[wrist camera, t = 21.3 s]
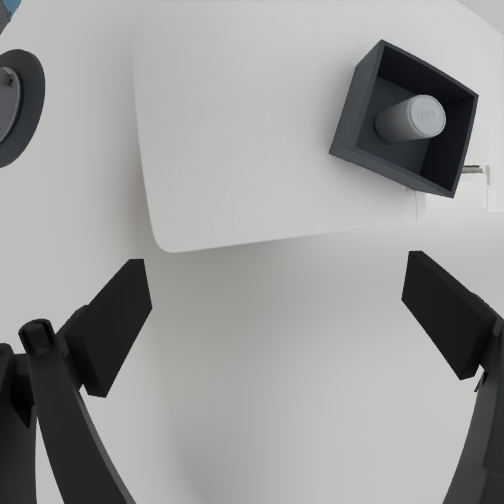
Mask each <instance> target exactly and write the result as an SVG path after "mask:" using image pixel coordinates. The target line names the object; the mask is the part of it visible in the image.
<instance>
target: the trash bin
mask: <svg viewBox="0 0 504 504" xmlns="http://www.w3.org/2000/svg"><path fill="white" fill-rule="evenodd" d="M418 95H428V96H431V97H433V98H435V99H436V100H437V101H438V102H439V103H440V104H441V106H442V107H443V110H444V112H445V117H446V123H445V127H444V129H443V130H442V132H440V133H439V134H438V135H436V136H434V137H431V138H423V139H416V140H409V141H402V142H396V143H390V142H387V141H384V140H383V139H382V138H381V137H380V136H379V135H378V133H377V131H376V128H375V120H376V117H377V115H378V114H379V113H380V112H381V111H383V110H385V109H387V108H390V107H392V106H394V105H396V104H399V103H401V102H403V101H405V100H408V99H410V98H412V97H415V96H418ZM478 97H479V95H478V94H476V93H475V92H473V91H472V90H470V89H469V88H467V87H466V86H464V85H463V84H461V83H460V82H458V81H457V80H455V79H454V78H452V77H450V76H449V75H447V74H446V73H444V72H442V71H441V70H439V69H437V68H436V67H434V66H432V65H430V64H429V63H427V62H425V61H423V60H421V59H420V58H418V57H416V56H414V55H412V54H410V53H408V52H406V51H404V50H402V49H400V48H398V47H396V46H394V45H392V44H390V43H388V42H386V41H384V40H382V39H381V40H380V41H379V42H378V43H377V44H376V45H375V46H374V47H373V49H372V50H371V51H370V52H369V53H368V54H367V55H366V56H365V57H364V58H363V59H362V60H361V61H360V62H359V63H358V65H357V66H356V69H355V72H354V75H353V79H352V82H351V85H350V89H349V92H348V95H347V98H346V101H345V105H344V108H343V111H342V114H341V117H340V120H339V124H338V127H337V130H336V133H335V136H334V139H333V142H332V145H331V148H330V151H329V154H331V155H334V156H336V157H339V158H341V159H344V160H346V161H349V162H351V163H354V164H356V165H359V166H361V167H364V168H366V169H368V170H371V171H373V172H376V173H378V174H380V175H382V176H385V177H387V178H389V179H392V180H394V181H396V182H398V183H400V184H403V185H405V186H407V187H409V188H411V189H413V190H416V191H421V192H426V193H431V194H436V195H440V196H445V197H449V198H454V195H455V191H456V189H457V185H458V182H459V179H460V175H461V172H462V168H463V164H464V161H465V157H466V153H467V149H468V145H469V141H470V137H471V132H472V128H473V123H474V118H475V113H476V108H477V102H478Z"/></svg>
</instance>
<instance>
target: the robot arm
mask: <svg viewBox="0 0 504 504" xmlns="http://www.w3.org/2000/svg"><path fill="white" fill-rule="evenodd" d="M20 3H21V0H0V34H1V33H2V31H3V30H4V28H5V27H6V25H7V23H9V22H10V20H11V17H12V16H13V14H14V12H15V11H16V9H17V8H18V6H19V5H20ZM23 99H24V86H23V81H22V78H21V76H20V74H19V73H18V72H17V71H16V70H14V69H11V68H7V67H0V145H1V144H2V143H4V142H5V141H6V140H7V138H8V137H9V136H10V135H11V133H12V131H13V130H14V128H15V126H16V124H17V122H18V119H19V116H20V113H21V110H22V105H23ZM401 300H402V301H403V302H404V304H405V305H406V306H407V308H408V309H409V310H410V311H411V313H412V314H413V315H414V317H415V318H416V319H417V321H418V322H419V323H420V325H421V326H422V327H423V329H424V330H425V331H426V333H427V334H428V335H429V337H430V338H431V340H432V341H433V342H434V344H435V345H436V347H437V348H438V349H439V351H440V352H441V354H442V355H443V356H444V358H445V359H446V360H447V362H448V364H449V365H450V366H451V368H452V369H453V371H454V372H455V374H456V375H457V376H458V378H459V380H464V379H467V378H471V377H474V376H475V374H476V371H477V369H478V367H479V364H480V365H481V366H482V367H483V369H484V372H483V374H482V376H481V379H480V380H479V383H478V385H477V387H476V389H475V391H474V392H477V390H478V395H477V399H476V404H475V408H474V412H473V416H472V420H471V424H470V428H469V431H468V434H467V438H466V441H465V445H464V448H463V451H462V454H461V457H460V460H459V463H458V466H457V468H456V471H455V474H454V477H453V479H452V482H451V484H450V487H449V490H448V492H447V494H446V497H445V499H444V501H443V504H504V319H503V318H502V317H501V316H500V315H499V314H498V313H496V312H495V311H494V310H493V309H492V308H491V307H490V306H489V305H488V304H487V303H485V302H484V301H483V300H482V299H481V298H480V297H479V296H478V295H476V294H474V293H472V292H470V291H469V290H468V289H467V288H465V287H464V286H463V285H462V284H461V283H460V282H459V281H458V280H456V279H455V278H454V277H453V276H452V275H451V274H449V273H448V272H447V271H446V270H445V269H443V268H442V267H441V266H440V265H439V264H437V263H436V262H435V261H434V260H432V259H431V258H430V257H429V256H428V255H426V254H425V253H424V252H423V251H409V256H408V263H407V269H406V276H405V282H404V288H403V293H402V299H401ZM151 310H152V304H151V298H150V293H149V288H148V282H147V277H146V271H145V265H144V259H129V260H128V261H127V262H126V263H125V264H124V266H123V267H122V268H121V269H120V270H119V271H118V272H117V273H116V274H115V275H114V277H113V278H112V279H111V280H110V281H109V282H108V283H107V284H106V285H105V287H104V288H103V289H102V290H101V291H100V292H99V293H98V294H97V296H96V297H95V298H94V299H93V300H92V301H91V302H90V304H89V305H84V306H83V307H81V308H79V309H78V310H77V311H75V312H74V313H73V315H72V316H71V317H70V319H68V320H67V321H66V323H65V324H64V325H63V326H62V328H60V330H59V331H58V332H57V333H56V334H55V333H54V331H53V328H52V325H51V323H50V321H49V320H47V319H36V320H32V321H30V322H28V323H26V324H25V325H23V326H22V327H21V328H20V330H19V333H18V335H19V337H20V340H21V342H22V344H23V347H24V349H25V351H26V353H23V354H14V352H13V350H12V348H11V346H10V345H9V344H6V343H0V504H37V501H36V480H35V444H36V423H37V417H38V421H39V425H40V429H41V433H42V437H43V441H44V444H45V448H46V452H47V455H48V458H49V462H50V465H51V468H52V471H53V474H54V477H55V480H56V482H57V485H58V488H59V491H60V493H61V496H62V499H63V501H64V504H136V502H135V501H134V499H133V498H132V496H131V494H130V493H129V491H128V489H127V488H126V486H125V484H124V483H123V481H122V479H121V477H120V476H119V474H118V472H117V470H116V468H115V467H114V465H113V463H112V461H111V459H110V457H109V455H108V453H107V451H106V449H105V447H104V445H103V443H102V441H101V439H100V437H99V435H98V433H97V431H96V429H95V426H94V424H93V422H92V420H91V417H90V415H89V413H88V411H87V408H86V406H85V403H84V401H83V399H82V396H81V394H80V392H79V390H80V388H81V386H82V384H83V385H84V387H85V389H86V391H87V393H88V395H91V396H97V397H103V398H106V396H107V394H108V392H109V390H110V388H111V386H112V384H113V382H114V380H115V378H116V376H117V374H118V372H119V370H120V368H121V366H122V364H123V362H124V361H125V359H126V357H127V355H128V353H129V351H130V349H131V347H132V345H133V343H134V341H135V339H136V338H137V336H138V334H139V332H140V330H141V328H142V326H143V324H144V323H145V321H146V319H147V317H148V315H149V314H150V312H151Z"/></svg>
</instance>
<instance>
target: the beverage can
mask: <svg viewBox="0 0 504 504" xmlns="http://www.w3.org/2000/svg"><path fill="white" fill-rule="evenodd" d="M445 123H446V117H445V112H444V110H443V107H442V106H441V104H440V103H439V102H438V101H437V100H436V99H435V98H433V97H431V96H428V95H418V96H415V97H412V98H410V99H408V100H405V101H403V102H401V103H399V104H396V105H394V106H392V107H390V108H387V109H385V110H383V111H381V112H380V113H379V114H378V115H377V117H376V120H375V128H376V131H377V133H378V135H379V136H380V137H381V138H382V139H383V140H384V141H387V142H390V143H396V142H402V141H409V140H416V139H423V138H431V137H434V136H436V135H438V134H439V133H440V132H442V130H443V129H444V127H445Z"/></svg>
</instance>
